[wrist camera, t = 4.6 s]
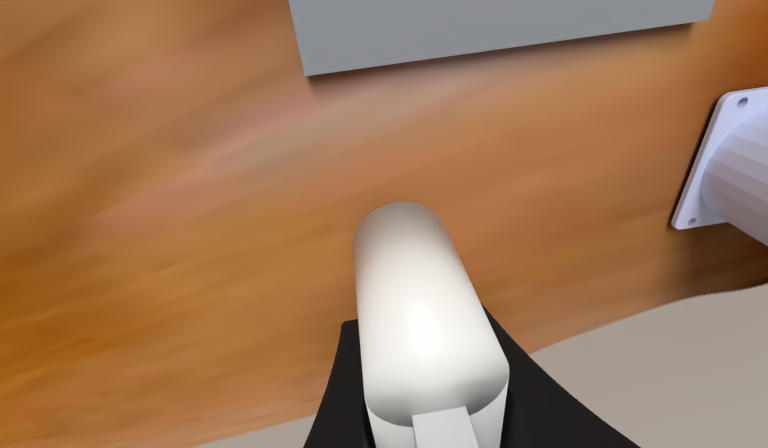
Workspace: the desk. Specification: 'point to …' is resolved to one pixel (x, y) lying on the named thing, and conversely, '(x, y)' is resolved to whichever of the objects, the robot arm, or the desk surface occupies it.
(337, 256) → the desk surface
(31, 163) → the desk surface
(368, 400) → the connector plug
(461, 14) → the desk mat
